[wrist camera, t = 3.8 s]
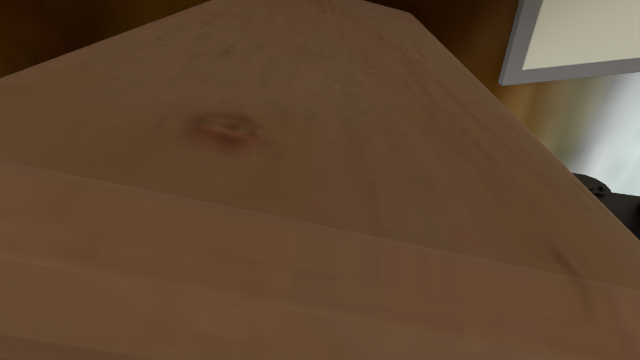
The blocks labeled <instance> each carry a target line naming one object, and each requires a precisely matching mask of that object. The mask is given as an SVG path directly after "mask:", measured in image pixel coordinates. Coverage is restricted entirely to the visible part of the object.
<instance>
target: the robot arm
mask: <svg viewBox="0 0 640 360" xmlns="http://www.w3.org/2000/svg"><path fill="white" fill-rule="evenodd" d="M572 174H573V175H574V176H575V177H576V178H577V179H578V180H579V181H580V182H581V183H582V184H583V185H584V186H585V187H586V188H587V189H588V190H589V191H590V192H591V193H592V194H593V195H594V196H595V197H596V198H597V199H598V200H599V201H600V202H601V203H602V204H603V205H604V206H605V207H606V208H607V209H608V210H609V211H610V212H611V213H612V214H613V215H614V216H615V217H616V218H618V219H619V220H620V221H621V222H622V223H623V224H624V225H625V226H626V227H627V228H628V229H629V230H630V231H631V232H632V233H633V234H634V235H635V236H636V237H637V238H638V239H639V240H640V196H633V195H626V194H618V193H612V192H611V190H610V189H609V188H608V187H607V186H606V185H605V184H604V183H602V182H600V181H599V180H597V179H595V178H592V177H589V176H586V175H582V174H576V173H572Z"/></svg>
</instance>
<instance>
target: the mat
mask: <svg viewBox="0 0 640 360" xmlns="http://www.w3.org/2000/svg"><path fill="white" fill-rule="evenodd" d="M635 72H640V0H519V3H518V7H517V11H516V15H515V19H514V23H513V27H512V31H511V34H510V38H509V42H508V46H507V50H506V54H505V58H504V62H503V66H502V70H501V73H500V77H499V81H498V83H499V84H500V85H501V86H504V85H514V84H524V83H534V82H544V81H554V80H564V79H574V78H584V77H595V76H605V75H615V74H625V73H635Z"/></svg>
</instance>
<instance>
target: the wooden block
mask: <svg viewBox="0 0 640 360" xmlns="http://www.w3.org/2000/svg"><path fill="white" fill-rule="evenodd" d="M0 360H640V240H639V239H638V238H637V237H636V236H635V235H634V234H633V233H632V232H631V231H630V230H629V229H628V228H627V227H626V226H625V225H624V224H623V223H622V222H621V221H620V220H619V219H618V218H616V217H615V216H614V215H613V214H612V213H611V212H610V211H609V210H608V209H607V208H606V207H605V206H604V205H603V204H602V203H601V202H600V201H599V200H598V199H597V198H596V197H595V196H594V195H593V194H592V193H591V192H590V191H589V190H588V189H587V188H586V187H585V186H584V185H583V184H582V183H581V182H580V181H579V180H578V179H577V178H576V177H575V176H574V175H573V174H572V173H571V172H570V171H569V170H568V169H567V168H566V167H565V166H564V165H563V164H562V163H561V162H560V161H559V160H558V159H557V158H556V157H555V156H554V155H553V154H552V153H551V152H550V151H549V150H548V149H547V148H546V147H545V146H544V145H543V144H542V143H541V142H540V141H539V140H538V139H537V138H536V137H535V136H534V135H533V134H532V133H531V132H530V131H529V130H528V129H527V128H526V127H525V126H524V125H523V124H522V123H521V122H520V121H519V120H518V119H517V118H516V117H515V116H514V115H513V114H512V113H511V112H510V111H509V110H508V109H507V108H506V107H505V106H504V105H503V104H502V103H501V102H500V101H499V100H498V99H497V98H496V97H495V96H494V95H493V94H492V93H491V92H490V91H489V90H488V89H487V88H486V87H485V86H484V85H483V84H482V83H481V82H480V81H479V80H478V79H477V78H476V77H475V76H474V75H473V74H472V73H471V72H470V71H469V70H468V69H467V68H466V67H465V66H464V65H463V64H462V63H461V62H460V61H459V60H458V59H457V58H456V57H455V56H454V55H453V54H452V53H450V52H449V51H448V50H447V49H446V48H445V47H444V46H443V45H442V44H441V43H440V42H439V41H438V40H437V39H436V38H435V37H434V36H433V35H432V34H431V33H430V32H429V31H428V30H427V29H426V28H425V27H424V26H423V25H422V24H421V23H420V22H419V21H418V20H417V19H416V18H415V17H414V16H413V15H412V14H411V13H409V12H405V11H401V10H398V9H394V8H390V7H387V6H383V5H379V4H375V3H372V2H368V1H364V0H211V1H208V2H205V3H203V4H200V5H197V6H194V7H192V8H189V9H186V10H184V11H181V12H178V13H176V14H173V15H170V16H167V17H165V18H162V19H159V20H157V21H154V22H151V23H149V24H146V25H143V26H140V27H138V28H135V29H132V30H130V31H127V32H124V33H122V34H119V35H116V36H113V37H111V38H108V39H105V40H103V41H100V42H97V43H94V44H92V45H89V46H86V47H84V48H81V49H78V50H76V51H73V52H70V53H67V54H65V55H62V56H59V57H57V58H54V59H51V60H49V61H46V62H43V63H40V64H38V65H35V66H32V67H30V68H27V69H24V70H22V71H19V72H16V73H13V74H11V75H8V76H5V77H3V78H0Z"/></svg>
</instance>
